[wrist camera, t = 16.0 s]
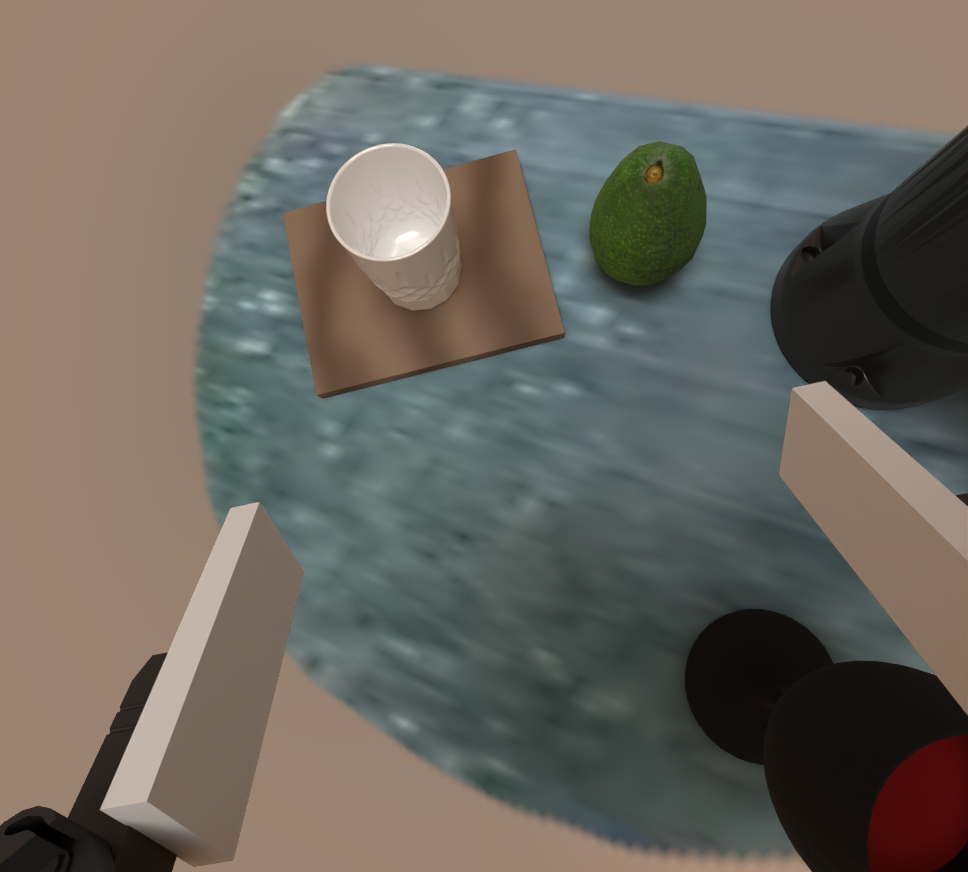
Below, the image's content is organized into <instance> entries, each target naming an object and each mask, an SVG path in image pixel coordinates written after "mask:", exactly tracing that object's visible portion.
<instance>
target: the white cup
mask: <svg viewBox="0 0 968 872" xmlns="http://www.w3.org/2000/svg"><path fill="white" fill-rule="evenodd" d="M326 212H327V218H328V222H329V225H330V228H331V230H332V232H333V234H334V236H335V237H336V239H337V240H338V241H339V242H340V244H341V245H342V246H343V247H344V248H345V250H346V251H347V252H348V253H349V254H350V256H351V257H352V258H353V259H354V261H355V262H356V263H357V264H358V266H359V267H360V268H361V269H362V271H363V272H364V273H365V274H366V275H367V276H368V277H369V278H370V279H371V280H372V281H373V283H374V284H375V285H376V286H377V287H378V288H379V289H381V290H382V291H383V292H384V293H385V294H386V295H387V297H388V298H389V299H390V300H391V301H392V302H393V303H394V304H395V305H398V306H401V307H403V308H406V309H409V310H412V311H415V310H426V309H432V308H434V307H435V306H437V305H439V304H441V303H442V302H444V301H446V300H448V298H449V297H450V296H451V294H452V293H453V291H454V290H455V289H456V287H457V286H458V284H459V279H460V274H461V268H462V264H461V259H460V251H459V240H458V232H457V225H456V219H455V214H454V209H453V203H452V198H451V192H450V186H449V182H448V179H447V177H446V175H445V173H444V171H443V169H442V168H441V166H440V165H439V164H438V163H437V161H436V160H435V159H434V158H432V157H431V156H430V155H429V154H427V153H426V152H424V151H422V150H420V149H418V148H416V147H413V146H410V145H405V144H398V143H389V144H381V145H377V146H373V147H370V148H368V149H365V150H363V151H361V152H359V153H358V154H356V155H355V156H353V157H352V158H351V159H349V160H348V161H347V162H346V163H345V164H344V165H343V166H342V167H341V169H340V170H339V171H338V172H337V174H336V176H335V177H334V179H333V181H332V183H331V185H330V188H329V191H328V195H327V202H326Z"/></svg>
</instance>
